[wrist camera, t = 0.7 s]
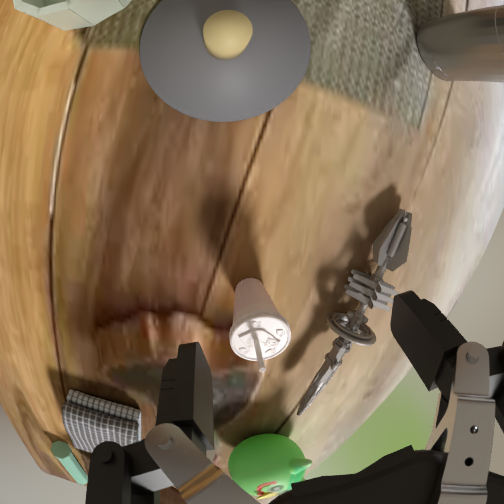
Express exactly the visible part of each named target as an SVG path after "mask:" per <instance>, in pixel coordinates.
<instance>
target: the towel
mask: <svg viewBox="0 0 504 504" xmlns="http://www.w3.org/2000/svg"><path fill="white" fill-rule="evenodd" d="M62 418H63V424H64V427H65V429H66V431H67V433H68V434H69V436H70V438H71V440H72V443H73V446H74V447H75V448H77V449H80V450H84V451H86V452H90V453H92V451H93V450H94V448H95V447H96V446H97V445H98V444H100V443H102V442H105V441H114V442H117V443H118V444H120V445H121V446H126V445H129V444H132V443H135V442H138V441H141V410H139V409H135V408H132V407H129V406H126V405H122V404H118V403H115V402H111V401H107V400H104V399H100V398H96V397H94V396H90V395H87V394H84V393H81V392H79V391H74V390H72V389H69V393H68V395H67V402H65V403H63V407H62Z"/></svg>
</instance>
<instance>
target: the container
mask: <svg viewBox="0 0 504 504" xmlns="http://www.w3.org/2000/svg"><path fill="white" fill-rule="evenodd" d="M51 451H52V453H53V454H54V456H55V457H56V458H58V459H59V460H60V462H61V463H62V464H63V466H64V467H65V468H66V469H67V471H68V472H69V473H70V474H71V476H72V477H73V478H74V479H75V480H76V482H77V483H79V484H82V485H84V484H86V483H88V476H87V475H86V473H85V472H84V471H83V469H82V468H81V466H80V465H79V463H78V462H77V460H76V459H75V457H74V456H73V454H72V453H71V448H70V447H69V445H68V444H67V443H65V442H61V441H56V442H54V443H52V447H51Z"/></svg>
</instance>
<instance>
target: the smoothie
mask: <svg viewBox="0 0 504 504" xmlns="http://www.w3.org/2000/svg"><path fill="white" fill-rule="evenodd" d="M229 338H230V344H231V347H232V349H233V351H234V352H235V353H236V354H237V355H238V356H240V357H242V358H244V359H247V360H251V361H258V365H259V370H260V372H265V370H266V369H265V365H264V360H267V359H270V358H273V357H275V356H277V355H278V354H280V353H281V352H282V351H284V350H285V348H286V347H287V346H288V344H289V342H290V339H291V331H290V327H289V324H288V321H287V320H286V319H285V318H284V317H283V316H282V315H280V313H279V312H278V310H277V308H276V306H275V305H274V303H273V301H272V300H271V298H270V296H269V294H268V293H267V291H266V289H265V287H264V286H263V284H262V282H261V281H259V280H258V279H255V278H246V279H243V280H241V281H240V282H239V283H238V284H237V286H236V289H235V302H234V315H233V326H232V327H231V329H230V334H229Z"/></svg>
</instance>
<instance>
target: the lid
mask: <svg viewBox="0 0 504 504" xmlns="http://www.w3.org/2000/svg"><path fill="white" fill-rule="evenodd" d="M310 49H311V44H310V36H309V32H308V28H307V25H306V23H305V20H304V18H303V16H302V15H301V13H300V11H299V10H298V9H297V7H296V6H295V5H294V3H293V2H292V1H291V0H162V1H161V2H160V3H159V4H158V5H157V6H156V8H155V9H154V10H153V11H152V13H151V14H150V16H149V18H148V19H147V21H146V24H145V26H144V28H143V31H142V35H141V39H140V48H139V50H140V61H141V66H142V70H143V72H144V75H145V78H146V79H147V81H148V83H149V85H150V86H151V88H152V89H153V90H154V92H155V93H156V94H157V95H158V96H159V97H160V98H161V99H162V100H163V101H164V102H166V103H167V104H168V105H170V106H171V107H172V108H174V109H176V110H178V111H180V112H181V113H184V114H186V115H189V116H191V117H194V118H198V119H202V120H208V121H215V122H229V121H239V120H244V119H249V118H252V117H255V116H258V115H261V114H263V113H265V112H267V111H269V110H271V109H273V108H274V107H276V106H278V105H279V104H280V103H282V102H283V101H284V100H285V99H287V98H288V97H289V96H290V95H291V94H292V93H293V91H294V90H295V89H296V88H297V86H298V85H299V84H300V82H301V80H302V78H303V77H304V75H305V72H306V70H307V67H308V63H309V59H310Z"/></svg>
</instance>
